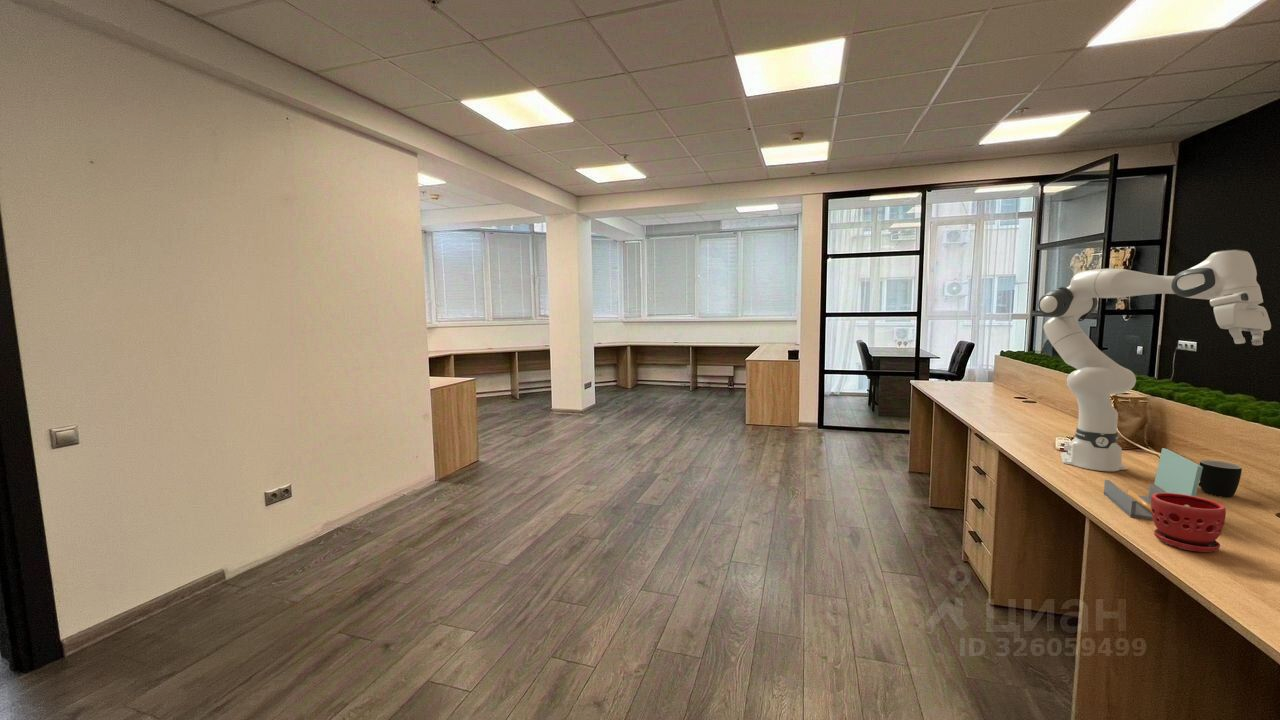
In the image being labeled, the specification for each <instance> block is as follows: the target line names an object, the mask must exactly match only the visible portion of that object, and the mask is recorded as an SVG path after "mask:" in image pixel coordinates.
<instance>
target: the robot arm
mask: <svg viewBox="0 0 1280 720" xmlns="http://www.w3.org/2000/svg"><path fill="white" fill-rule="evenodd" d="M1257 276H1258V273H1257V268H1256V264H1255V262H1254V259H1253V257H1252V255H1251V253H1250V252H1248V251H1246V250H1245V249H1244V250H1243V249H1224V250H1218V251H1214V252H1212V253H1211V254H1210V255H1209V256H1208V257H1206V259H1204V260H1203V261H1201V262H1200V263H1198V264H1196V265H1194V266H1191V267H1190V268H1188V269H1185V270H1182V271H1180V272H1178V273H1177V274H1176V275H1159V274H1151V273H1145V272H1141V271H1137V270H1131V269H1130V270H1129V269H1125V268H1123V269H1122V268H1097V269H1089V270H1084V271H1083V270H1082V271H1079V272H1077V273H1076V274H1074V276H1073V277H1071V279H1070V284H1069V285H1068V286H1066V287H1065V286H1060V287H1057V288H1056V289H1053V290H1051V291H1049V292H1048V291H1047V292H1046V293H1045V294H1043V295H1042V296H1041V297H1040V298H1039V300H1038V303H1037V307H1038V311H1040V313H1041V314H1042V315H1044V316H1046V317H1050V318H1048V319H1047V321H1045V323H1043V327H1042V328H1043V331H1044V334H1045V336H1046V337H1047V339H1048V342H1049V343H1050V344H1051V346H1052V347H1053V349H1054V350H1055V351H1056V352H1057V354H1058V355H1059V356H1060V358H1061V359H1062V361H1064V363H1065V364H1066V365H1068V366H1070V367H1072V368H1074V369H1076V370H1073V371H1071V372H1070V373H1069V374H1068V375H1067V378H1066V385H1067V387H1068V389H1069V390H1070V391H1071V392H1072V394H1073V395H1074V396H1075V398H1076V402H1077V406H1078V423H1077V427H1076V430H1075V432H1074V438H1073V439H1072V440H1071V441H1070V442H1069V443H1068V444H1064V446H1063V450H1064V451H1065V452H1064V451H1063V452H1060V457H1061V460H1062V463H1063V464H1067V465H1070V466H1076V467H1078V468H1082V469H1087V470H1092V471H1099V472H1100V471H1101V472H1119V471H1120V470H1121V471H1123V470H1125V471H1126V470H1127V466H1126V465H1124V464H1122V462H1123V461H1122V460H1123V457H1122V455H1123V454H1122V453H1123V451H1122V447H1121V446H1120V445H1119V444H1118V439H1119V433H1118V432H1117V431H1118V420H1119V413H1118V411H1117V410H1116V408H1114V405H1113V404H1112V401H1111V395H1112V396H1113V395H1121V394H1123V393H1126V392H1128V391H1131V390H1132V389H1133V388H1134V387H1135V385H1136V382H1137V377H1136V375H1135V373H1134V372H1133V371H1132V370H1130V369H1129V368H1126V367H1124V366H1122V365H1120V364H1119V363H1117V362H1116V361H1114V360H1113V359H1112V358H1110V357H1109V356H1108V355H1106V354H1105V353H1104V352H1102V350H1101V349H1099V348H1098V346H1096V345H1095V344H1094V342H1093V341H1092V340H1091V339H1090V338H1089V336H1088V335H1087V334H1086V332H1084V330H1083V329H1082V328H1081V327H1080V325H1079V322H1082V321H1084V320H1086V319H1087V317H1088V316H1089V315H1091V314H1092V313H1093V312H1094V311H1096V309H1097V307H1098V304H1099V302H1098V301H1099V300H1098V299H1117V298H1120V299H1121V298H1128V297H1137V296H1145V295H1157V294H1158V295H1160V294H1162V295H1163V294H1165V295H1168V294H1169V295H1177V296H1178V297H1181V298H1186V299H1187V298H1188V299H1198V300H1207V301H1209V305H1210V306H1211V307H1213V315H1214V318H1215V322H1216V324H1217V325H1218V327H1219V328H1220V329H1222V330H1228V332H1229V334H1230V335H1231V337H1232V338H1233V342H1234V344H1236V345H1241V344H1242V345H1243V344H1245V343H1246V342H1247V341H1246V338H1245V337H1244V336H1243V333H1242V332H1243V331H1244V332H1250V335H1251V336H1252V337H1251V338H1252V339H1250V341H1251V345H1252V346H1262V345H1263V344H1264V342H1263V338H1264V331H1265V332H1266V331H1270V330H1271V329H1272V324H1271V321H1270V317H1269V314H1268V311H1267V308H1265V307H1264V306H1263V305H1262V306H1261V305H1260V304H1262V303H1264V299H1263V294H1262V290H1261V286H1260V284H1259V283H1258V281H1257Z"/></svg>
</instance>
